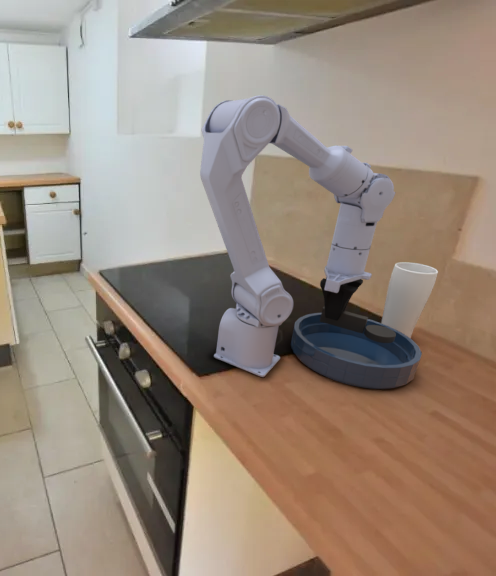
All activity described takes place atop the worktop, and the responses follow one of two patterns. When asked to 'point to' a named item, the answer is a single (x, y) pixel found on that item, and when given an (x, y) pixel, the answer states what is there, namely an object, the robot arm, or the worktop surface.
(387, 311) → the drinking glass
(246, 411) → the worktop surface
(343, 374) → the bowl
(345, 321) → the ladle
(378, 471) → the worktop surface
